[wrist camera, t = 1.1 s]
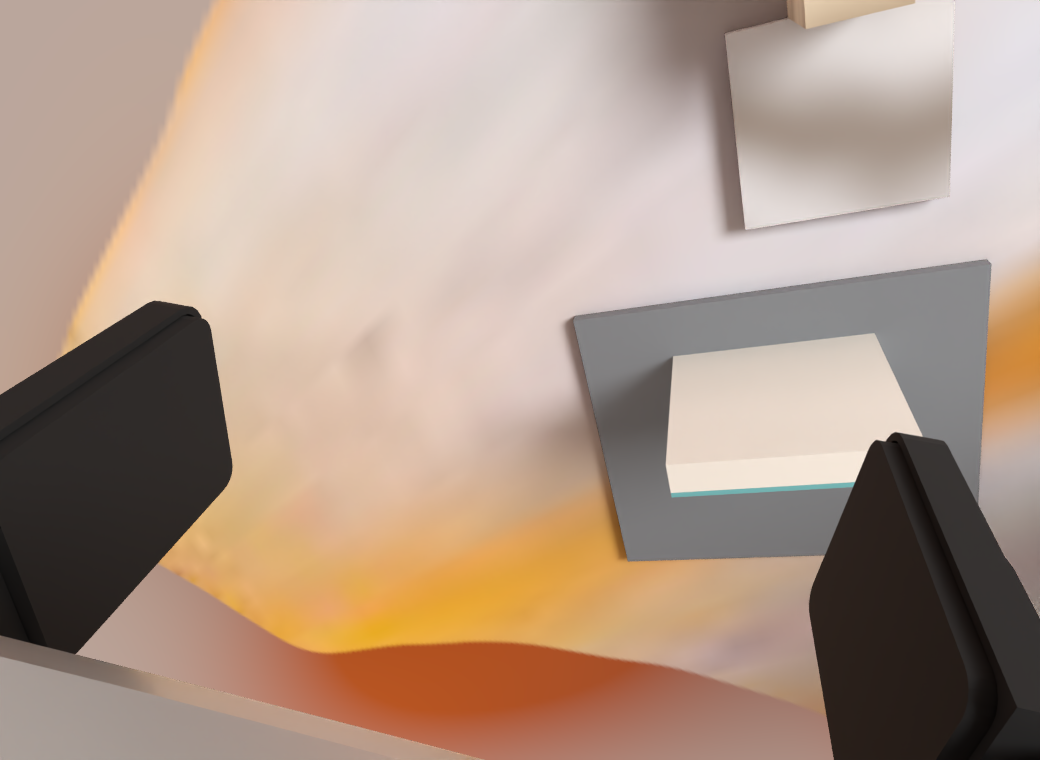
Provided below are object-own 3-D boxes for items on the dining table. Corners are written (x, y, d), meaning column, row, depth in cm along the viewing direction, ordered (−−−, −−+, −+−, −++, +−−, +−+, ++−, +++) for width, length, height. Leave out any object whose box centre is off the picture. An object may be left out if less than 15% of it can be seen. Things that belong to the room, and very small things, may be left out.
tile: (874, 332, 29) (927, 446, 22) (875, 363, 30) (926, 482, 23) (673, 356, 31) (665, 464, 25) (677, 384, 32) (671, 497, 25)
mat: (986, 259, 27) (991, 264, 27) (971, 542, 33) (975, 550, 33) (574, 316, 32) (573, 320, 32) (628, 554, 38) (627, 561, 38)
